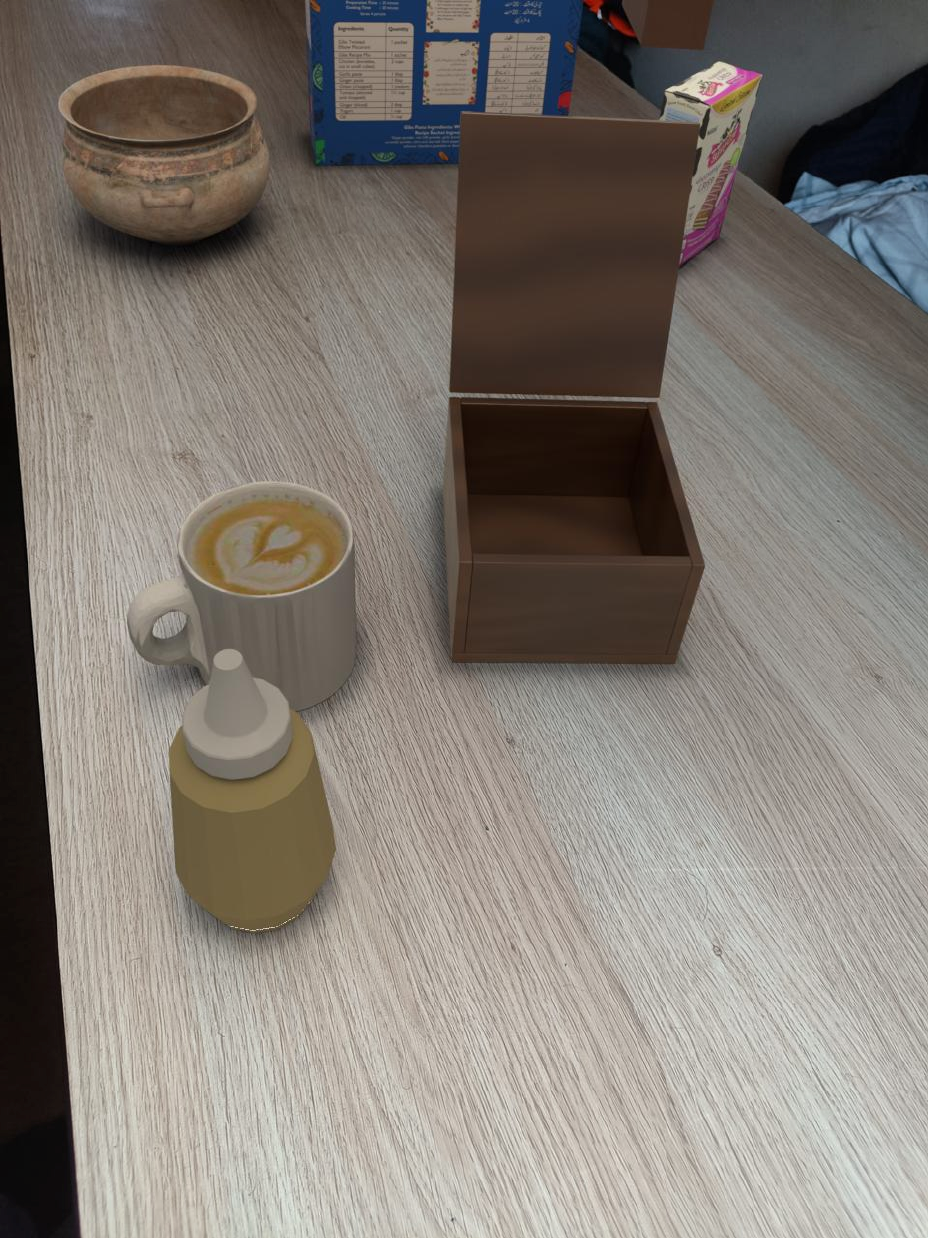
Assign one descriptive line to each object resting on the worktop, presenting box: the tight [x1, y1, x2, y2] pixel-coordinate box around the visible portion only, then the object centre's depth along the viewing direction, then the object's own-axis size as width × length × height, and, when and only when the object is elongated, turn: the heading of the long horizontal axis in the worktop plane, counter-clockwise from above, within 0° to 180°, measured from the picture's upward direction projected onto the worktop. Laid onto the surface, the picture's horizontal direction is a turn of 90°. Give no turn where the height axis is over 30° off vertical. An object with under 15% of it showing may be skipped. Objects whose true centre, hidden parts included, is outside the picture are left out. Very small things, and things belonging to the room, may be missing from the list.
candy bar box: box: [658, 61, 763, 269], centre depth 103 cm, size 11×5×16 cm, turn 144°
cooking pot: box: [57, 64, 270, 247], centre depth 101 cm, size 25×19×12 cm
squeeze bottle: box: [168, 649, 337, 934], centre depth 50 cm, size 8×8×18 cm
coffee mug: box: [126, 480, 357, 713], centre depth 64 cm, size 13×10×10 cm
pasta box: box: [304, 0, 584, 167], centre depth 112 cm, size 28×8×28 cm, turn 100°
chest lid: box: [448, 111, 700, 399], centre depth 71 cm, size 17×15×4 cm
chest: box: [442, 396, 706, 664], centre depth 71 cm, size 17×15×9 cm
